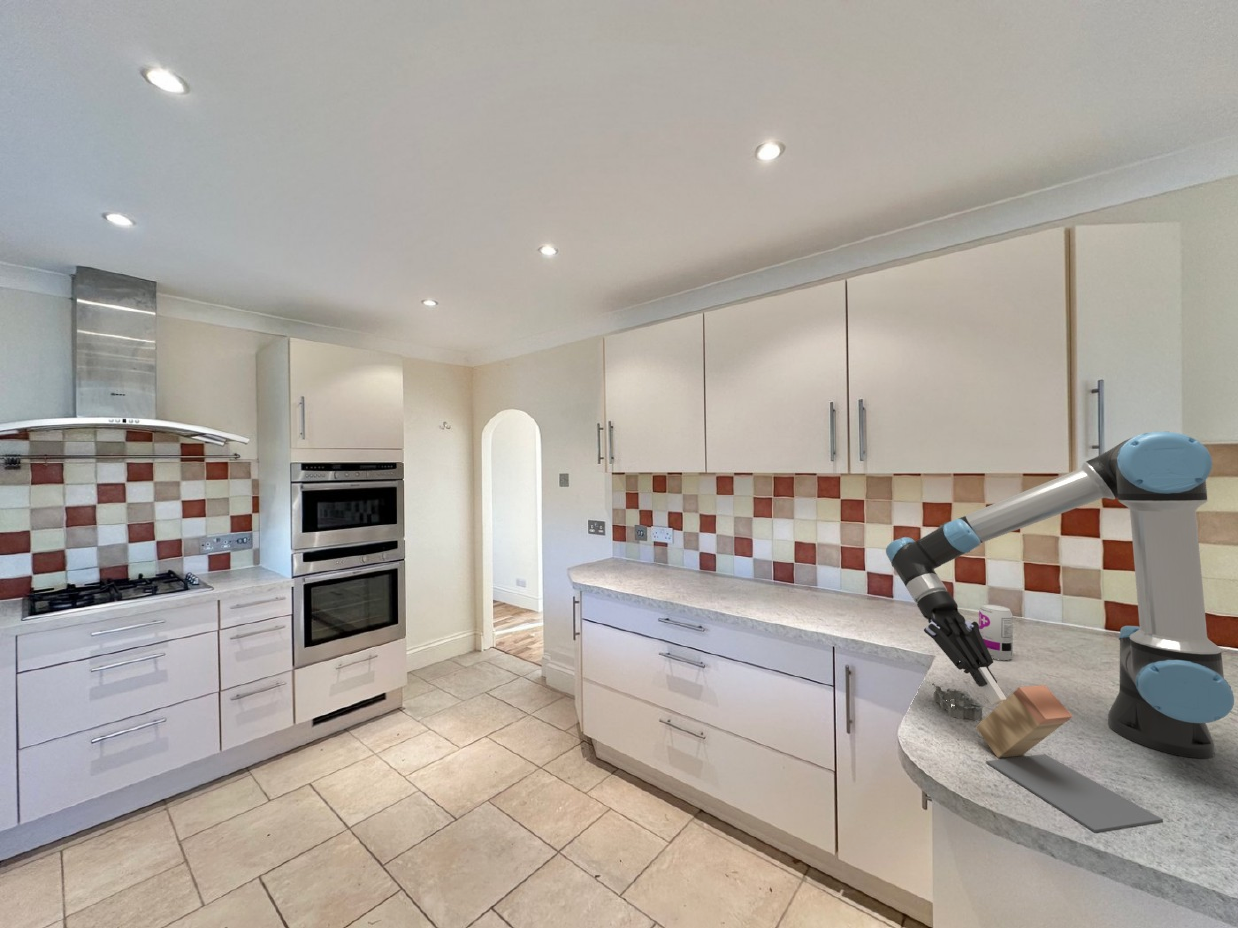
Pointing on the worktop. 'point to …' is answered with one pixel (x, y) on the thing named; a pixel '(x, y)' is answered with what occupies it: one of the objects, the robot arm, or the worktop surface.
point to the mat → (1074, 793)
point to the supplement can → (997, 630)
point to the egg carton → (958, 703)
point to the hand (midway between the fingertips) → (999, 701)
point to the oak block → (1023, 721)
